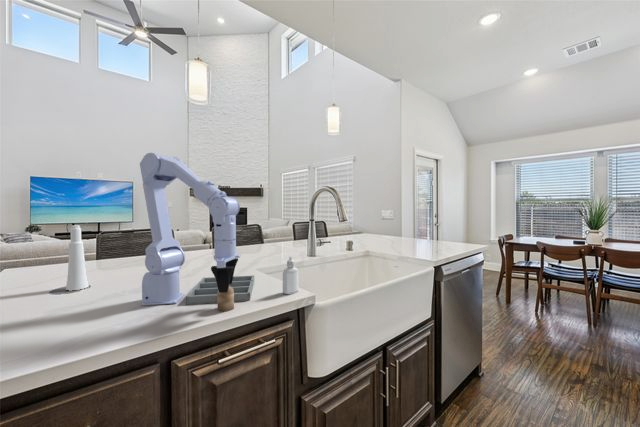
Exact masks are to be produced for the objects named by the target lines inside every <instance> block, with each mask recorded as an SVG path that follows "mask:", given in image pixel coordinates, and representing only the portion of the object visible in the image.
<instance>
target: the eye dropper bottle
mask: <svg viewBox="0 0 640 427" xmlns="http://www.w3.org/2000/svg"><path fill="white" fill-rule="evenodd" d="M298 292H299V269H298V267H295V260H294V259H293V257H292V256H289V257H288V260H286V268H284V269H283V271H282V294H284V295H287V294H289V295H293V294H295V293H298Z"/></svg>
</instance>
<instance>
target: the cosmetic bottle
mask: <svg viewBox="0 0 640 427" xmlns="http://www.w3.org/2000/svg"><path fill="white" fill-rule="evenodd" d="M69 230H70V242H69V243H68V260H67V262H68V265H67V266H68V267H67V279H66V285H65V291H66V290H69V291H68V292H72V290H76V291H81V290H80V289H82V290H85V289H87V287H88V288H89V282H88V277H87V270H86V260H85V258H86V257H85V248H84V242H83V241H82V227H81V225H77V224H75V225H71V228H70V229H69ZM84 288H85V289H84Z"/></svg>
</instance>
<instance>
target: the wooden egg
mask: <svg viewBox="0 0 640 427" xmlns="http://www.w3.org/2000/svg"><path fill="white" fill-rule="evenodd" d="M217 299H218V302H217V311H219V312H221V313H222V312H224V313H225V312H231V311H232V310H234V309H235V301H234V290H233V288H232V287H231V286H229V288H228V292H224V293H219V290H218V293H217Z"/></svg>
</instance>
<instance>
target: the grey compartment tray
mask: <svg viewBox="0 0 640 427" xmlns="http://www.w3.org/2000/svg"><path fill="white" fill-rule="evenodd" d="M254 285H255V275H233V281H232V284H229V286H231V287H232V288H233V290H234V302H246V301H247V302H248V301H249V302H250V301H251V299H252V298H251V297H252V293H253V289H254ZM217 293H218V286H217V282H216V279H215V276H214V277H213V276H212V277H210V276H209V277H202V279H201V280H199V281H198V283H197V284H196V285H195V286H194V287H193V288H192V289H191V290H190V291H189V292H188V294H187V295H186V296H185V305H195V304H197V305H198V304H211V303H212V304H213V303H218V299H217Z"/></svg>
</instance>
